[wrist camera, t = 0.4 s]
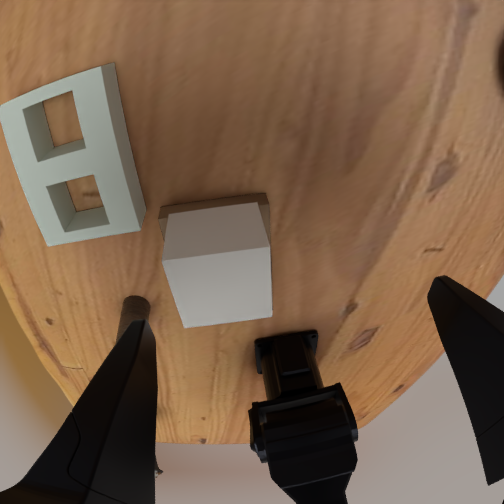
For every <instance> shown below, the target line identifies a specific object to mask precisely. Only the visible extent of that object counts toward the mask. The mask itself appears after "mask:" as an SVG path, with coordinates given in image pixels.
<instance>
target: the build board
mask: <svg viewBox="0 0 504 504" xmlns="http://www.w3.org/2000/svg"><path fill="white" fill-rule="evenodd" d="M71 90H72V91H73V96H74V101H75V105H76V109H77V114H78V118H79V122H80V126H81V130H82V134H83V138H84V139H81V140H77V141H74V142H70V143H67V144H63V145H60V146H57V147H54V145H53V141H52V138H51V134H50V131H49V127H48V123H47V119H46V115H45V111H44V107H43V103H42V101H44V100H46V99H49V98H52V97H54V96H57V95H60V94H63V93H66V92H68V91H71ZM0 121H1V124H2V128H3V131H4V135H5V138H6V142H7V145H8V148H9V151H10V154H11V157H12V160H13V163H14V166H15V169H16V172H17V175H18V177H19V180H20V183H21V185H22V188H23V191H24V193H25V196H26V198H27V201H28V203H29V205H30V208H31V210H32V213H33V215H34V217H35V219H36V222H37V224H38V226H39V228H40V231H41V233H42V235H43V237H44V239H45V241H46V243H47V245H48V246H53V245H59V244H64V243H70V242H76V241H81V240H87V239H93V238H99V237H105V236H111V235H117V234H123V233H129V232H135V231H141V228H142V224H143V220H144V217H145V213H146V210H147V209H146V206H145V202H144V198H143V194H142V191H141V187H140V183H139V179H138V175H137V171H136V167H135V163H134V159H133V154H132V150H131V146H130V141H129V137H128V132H127V128H126V123H125V118H124V113H123V108H122V103H121V98H120V92H119V87H118V81H117V75H116V69H115V63H110V64H106V65H103V66H100V67H96V68H93V69H90V70H87V71H83V72H80V73H77V74H74V75H71V76H69V77H66V78H63V79H60V80H58V81H55V82H52V83H50V84H47V85H45V86H42V87H40V88H37V89H35V90H33V91H30V92H28V93H26V94H23V95H21V96H19V97H17V98H15V99H12V100H10V101H8V102H6V103H4V104H2V105H0ZM92 174H94V177H95V180H96V183H97V187H98V190H99V193H100V196H101V199H102V202H103V205H104V207H99V208H94V209H89V210H84V211H80V212H76V210H75V208H74V205H73V202H72V200H71V197H70V194H69V191H68V188H67V185H66V183H65V181H68V180H72V179H76V178H80V177H84V176H88V175H92Z"/></svg>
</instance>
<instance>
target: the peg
mask: <svg viewBox="0 0 504 504" xmlns="http://www.w3.org/2000/svg"><path fill="white" fill-rule="evenodd" d="M149 311H150V304H149V302H148V301H147V300H146V299H144V298H142V297H139V296H129V297H127V298H126V299H125V300H124V302H123V306H122V311H121V317H120V322H119V327H118V333H117V339H116V343H117V342H118V340H119V339H120V337H121V336H122V334H123V333H124V332H125V330H126V329H127V327H128V326H129V324H130V323H131V322H132V321H133V320H138V319H146V320H147V321H148V320H149Z"/></svg>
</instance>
